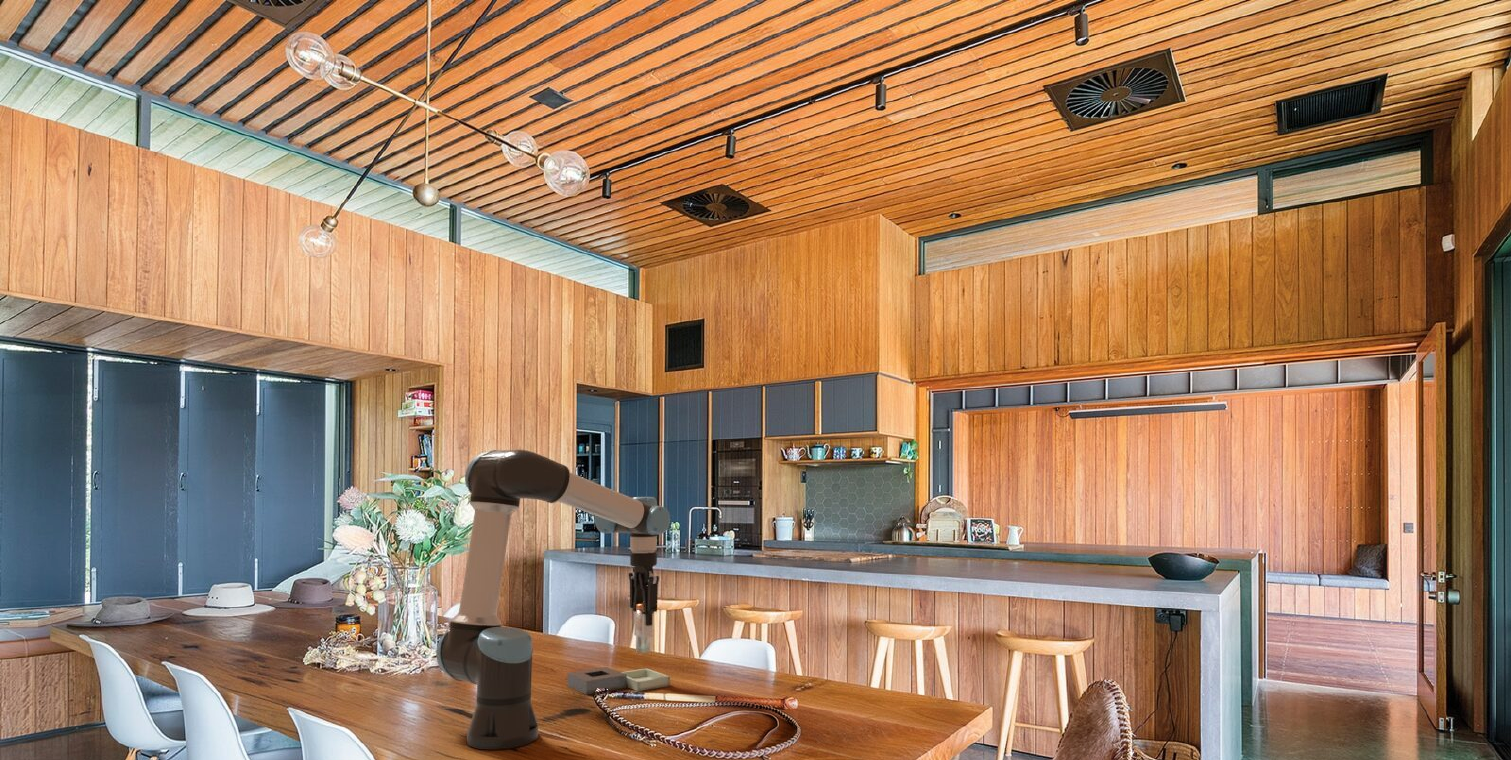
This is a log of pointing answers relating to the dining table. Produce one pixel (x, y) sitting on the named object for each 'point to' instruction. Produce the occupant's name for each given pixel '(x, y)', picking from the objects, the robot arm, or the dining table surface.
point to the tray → (646, 679)
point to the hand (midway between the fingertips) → (643, 635)
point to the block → (596, 680)
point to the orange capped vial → (641, 643)
